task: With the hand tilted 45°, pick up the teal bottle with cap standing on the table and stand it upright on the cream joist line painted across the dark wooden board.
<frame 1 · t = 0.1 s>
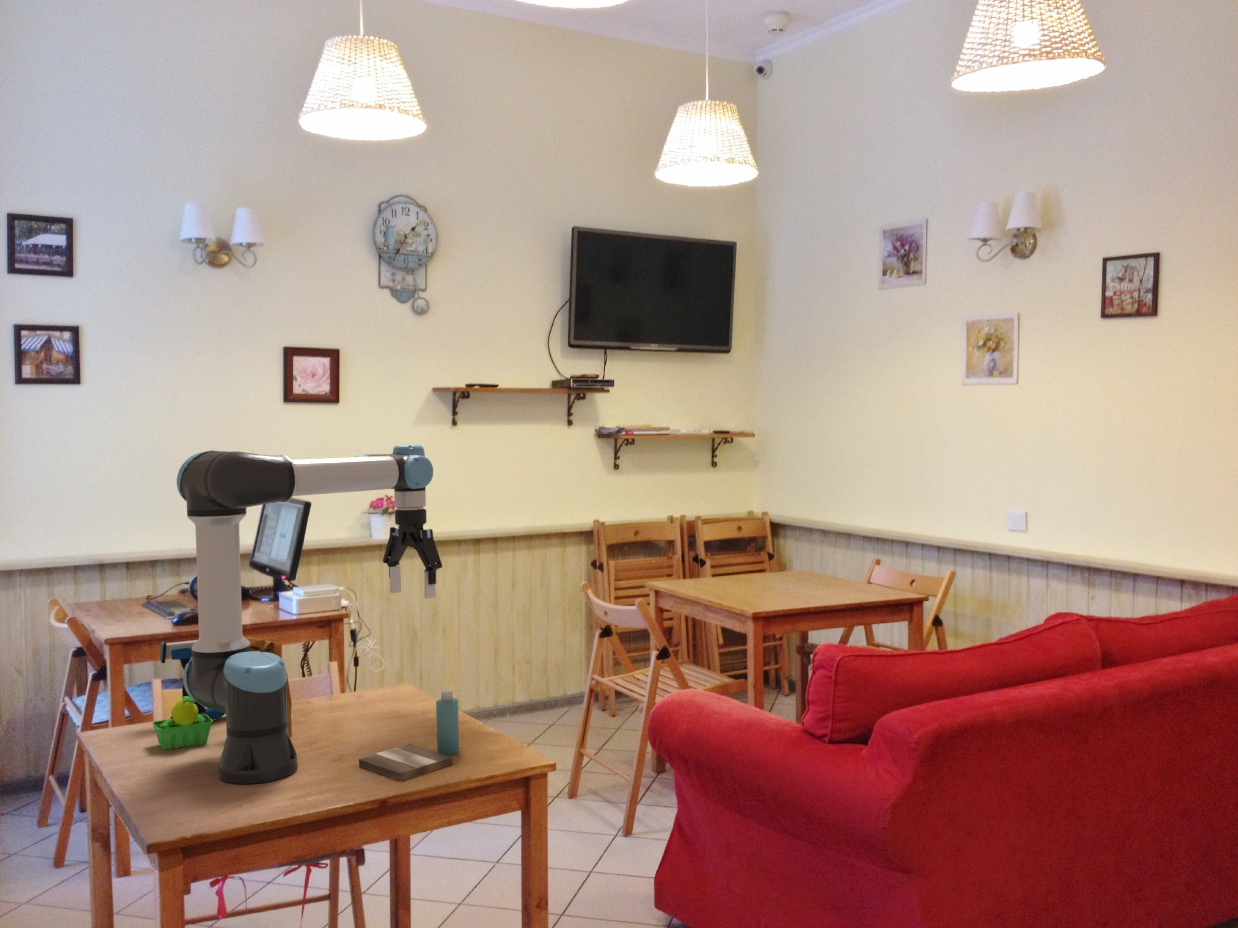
hand: (412, 595, 258), 28 cm above the table, tool pointing down, fingers open, 13 cm apart
subfloor board: (405, 765, 216), on the table
fruit basket: (183, 745, 233), on the table
teal bottle with cap: (448, 752, 224), on the table
coffee package: (265, 736, 239), on the table
handheld scanner: (199, 722, 251), on the table
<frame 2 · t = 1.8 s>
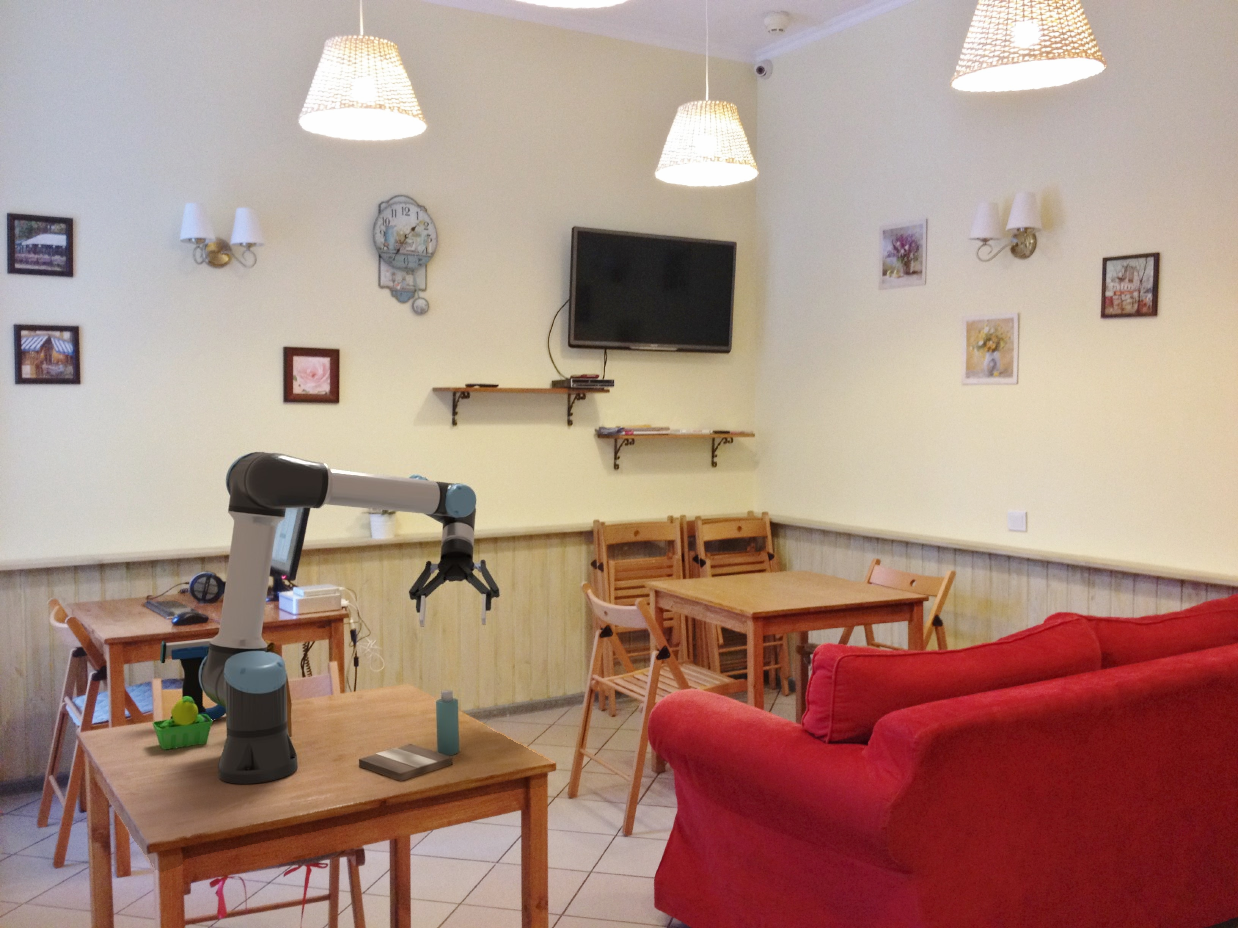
hand: (452, 622, 234), 26 cm above the table, tool tilted 45°, fingers open, 13 cm apart
nothing on the table moved.
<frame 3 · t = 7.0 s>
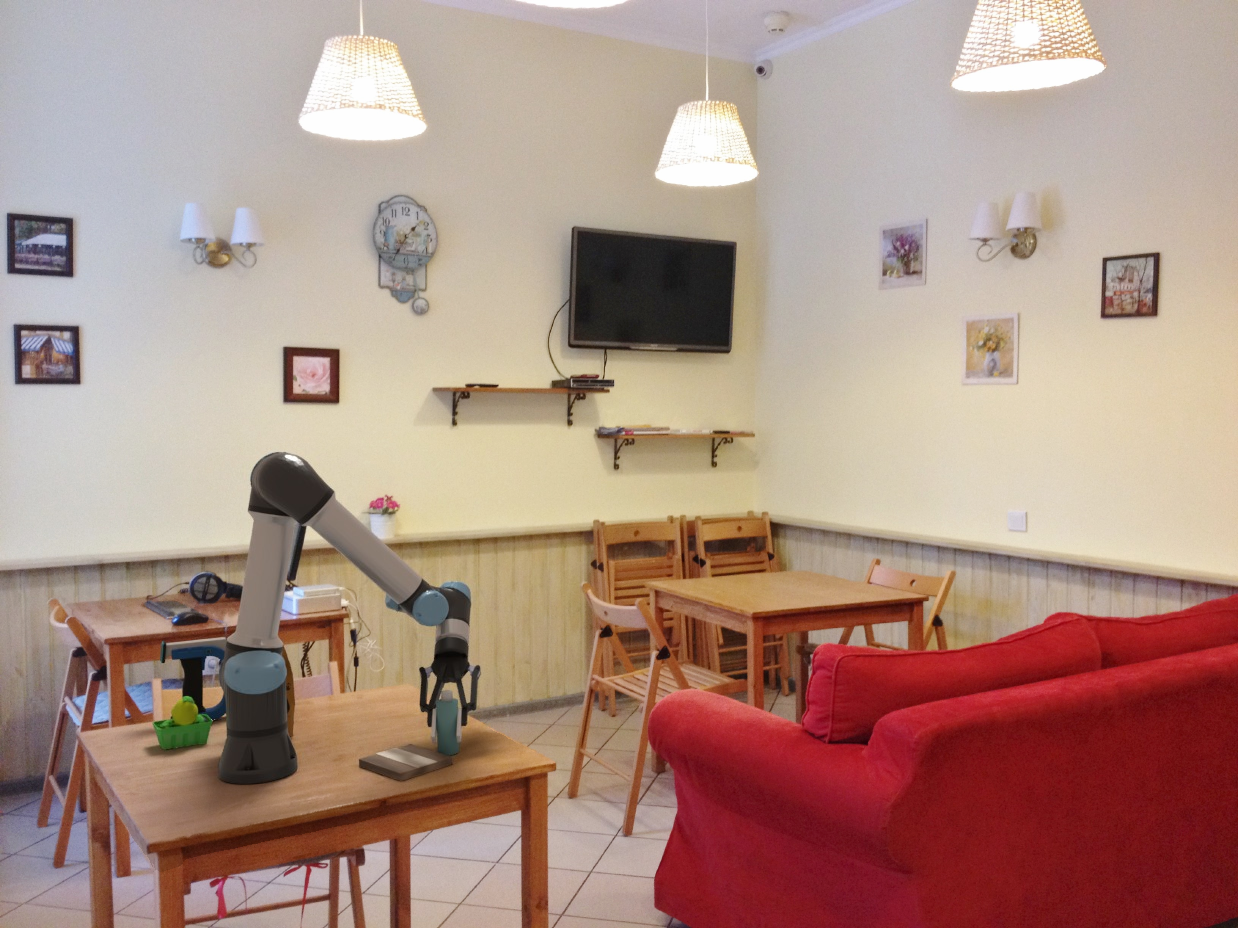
hand: (446, 739, 221), 4 cm above the table, tool tilted 45°, fingers closed on teal bottle with cap, 4 cm apart
teal bottle with cap: (448, 751, 224), on the table, touching gripper
coffee package: (265, 735, 238), on the table, touching arm
everything else where it was.
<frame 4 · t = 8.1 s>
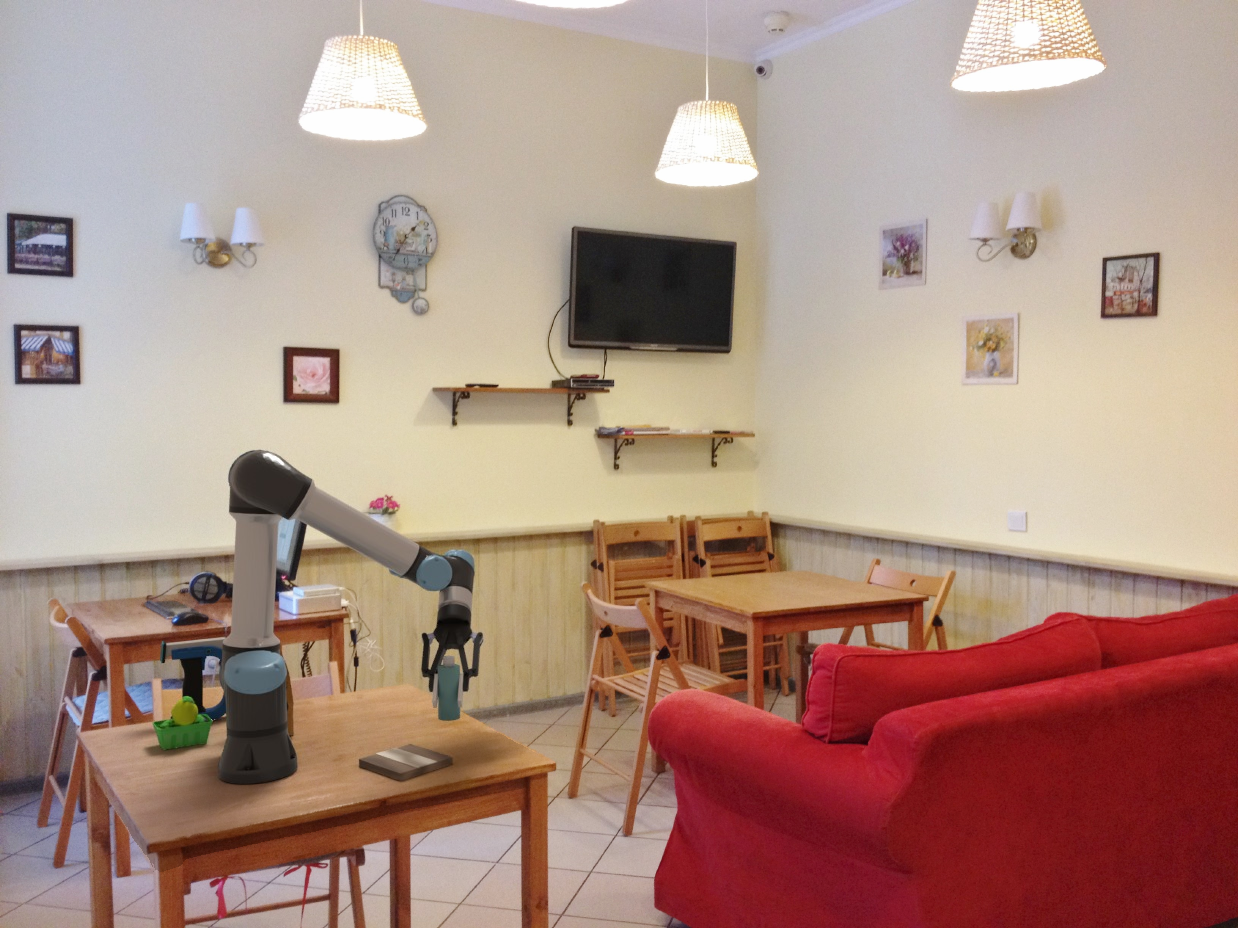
hand: (447, 703, 220), 11 cm above the table, tool tilted 45°, fingers closed on teal bottle with cap, 4 cm apart
teal bottle with cap: (449, 717, 224), point 7 cm above the table, touching gripper
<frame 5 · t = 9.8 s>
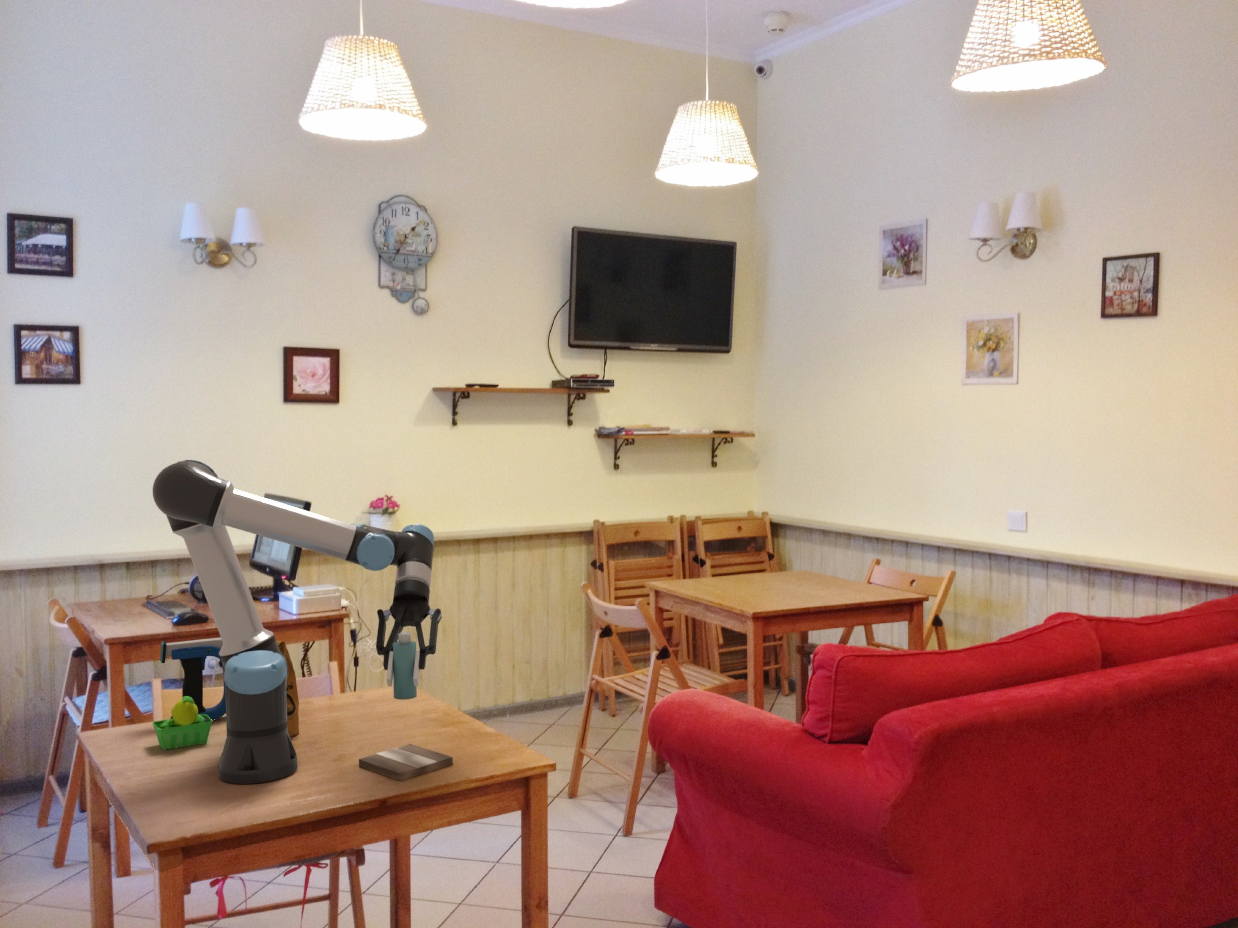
hand: (402, 682, 212), 18 cm above the table, tool tilted 45°, fingers closed on teal bottle with cap, 4 cm apart
teal bottle with cap: (405, 696, 216), point 14 cm above the table, touching gripper
coffee package: (270, 736, 238), on the table
everything else where it was.
when the fingers open (7 cm above the table, at t = 12.8 s): teal bottle with cap drops 2 cm, resting on subfloor board.
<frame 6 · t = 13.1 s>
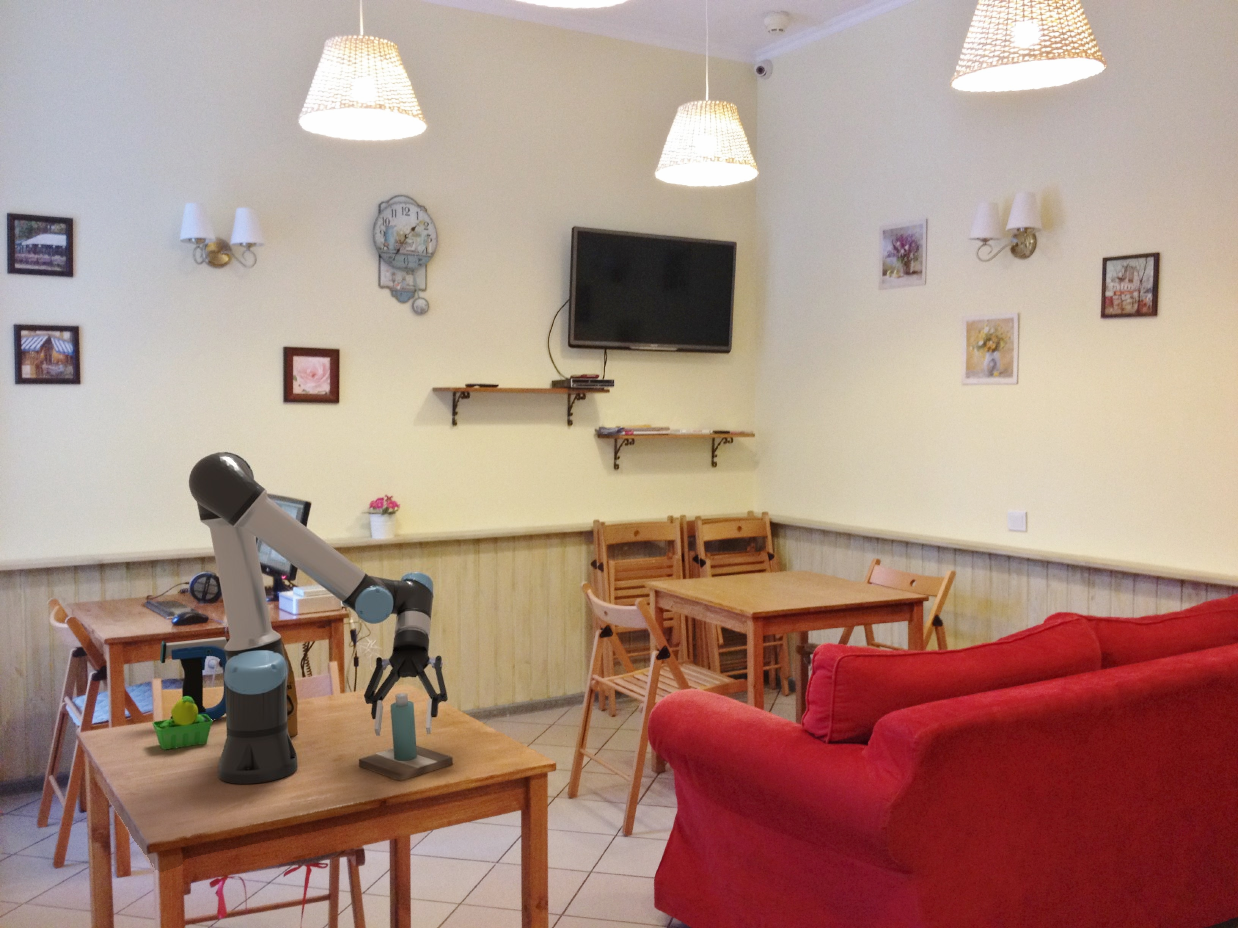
hand: (402, 731, 213), 8 cm above the table, tool tilted 45°, fingers open, 9 cm apart
teal bottle with cap: (405, 756, 216), point 2 cm above the table, touching subfloor board
coffee package: (269, 736, 238), on the table, touching arm
everything else where it was.
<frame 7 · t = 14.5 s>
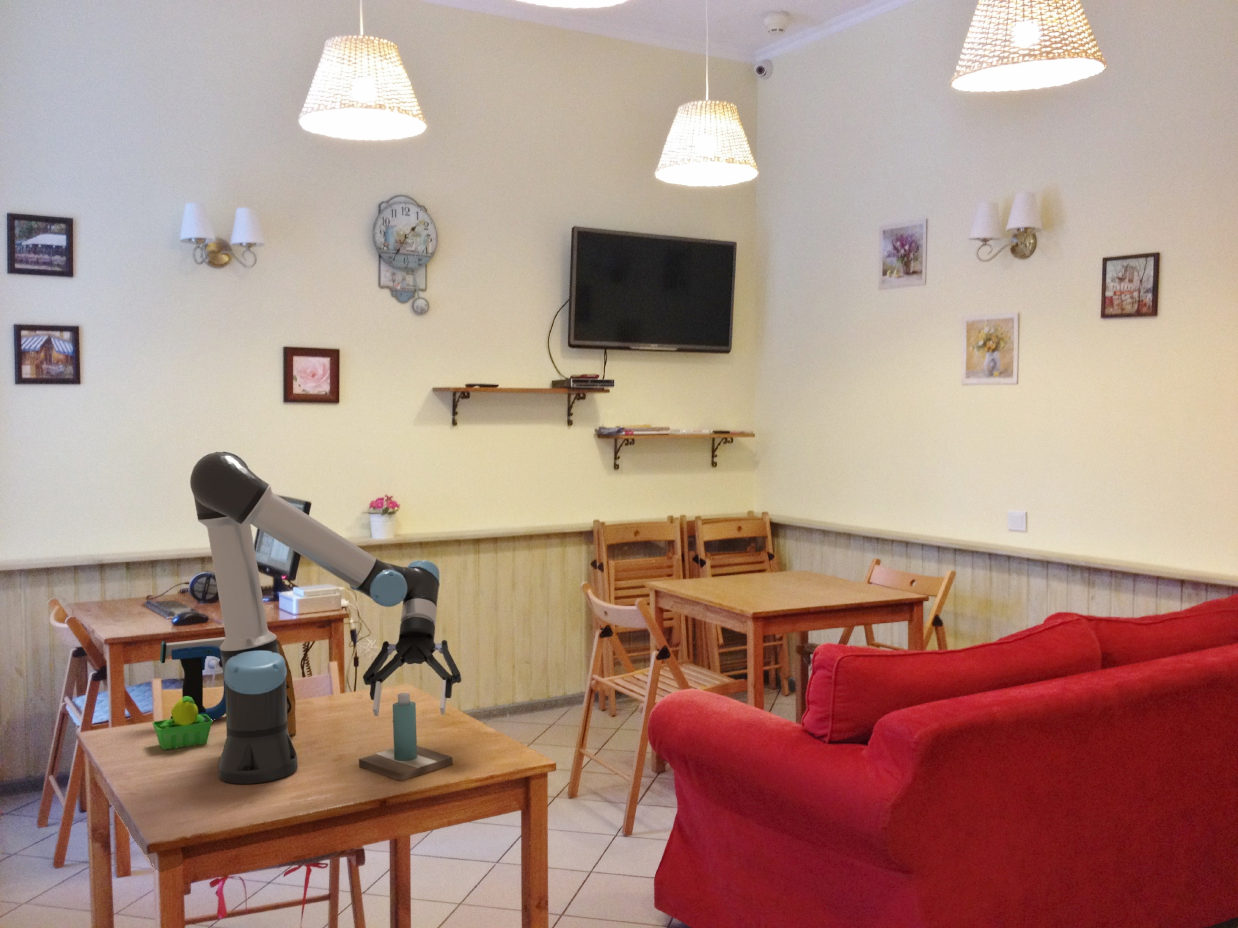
hand: (408, 712, 216), 11 cm above the table, tool tilted 45°, fingers open, 13 cm apart
nothing on the table moved.
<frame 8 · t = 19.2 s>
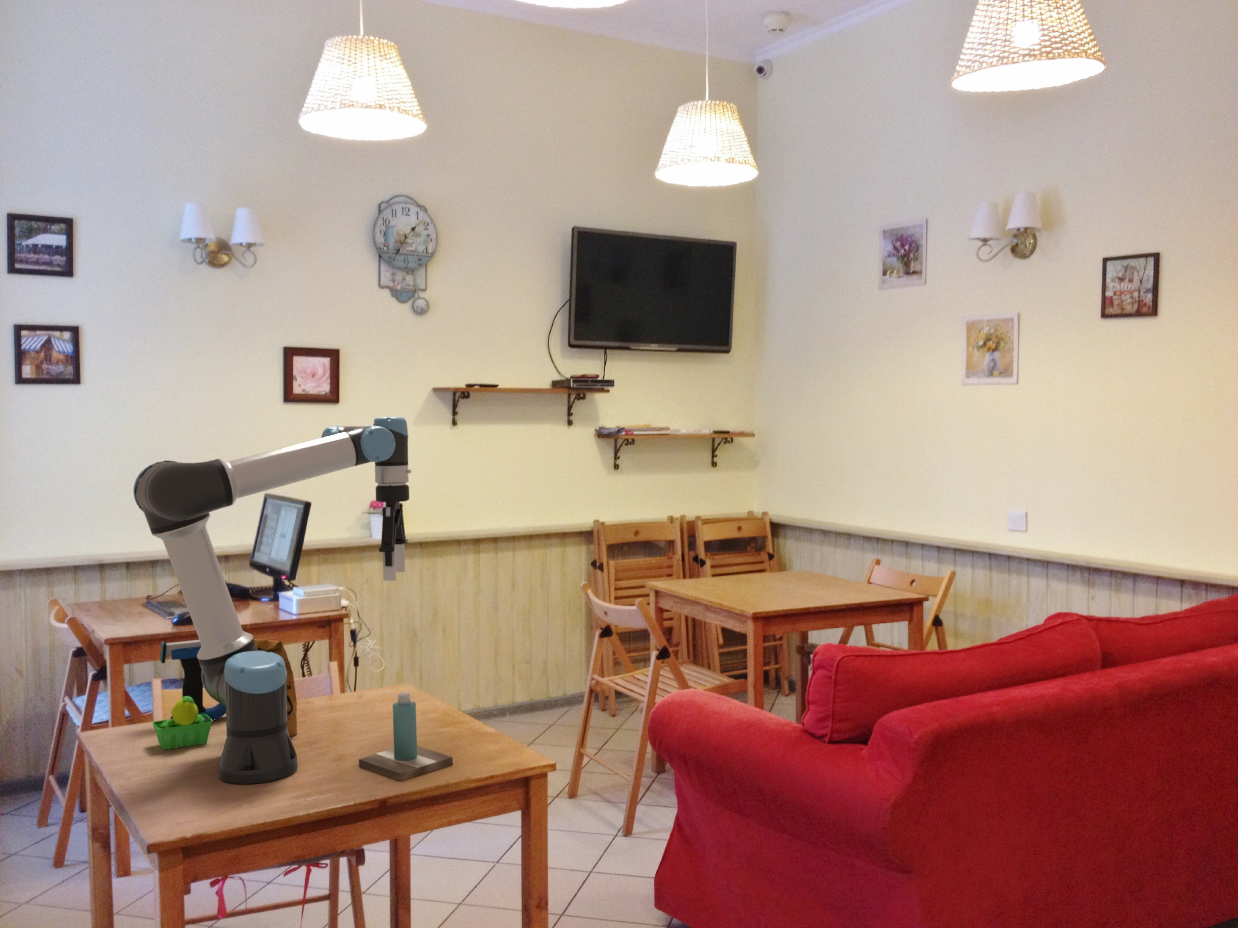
hand: (394, 576, 244), 35 cm above the table, tool pointing down, fingers open, 13 cm apart
coffee package: (268, 736, 238), on the table
everything else where it was.
at the end: teal bottle with cap inside the target area (0.1 cm from its centre), point 1.7 cm above the table; teal bottle with cap tilted 0°; the gripper is holding nothing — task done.
